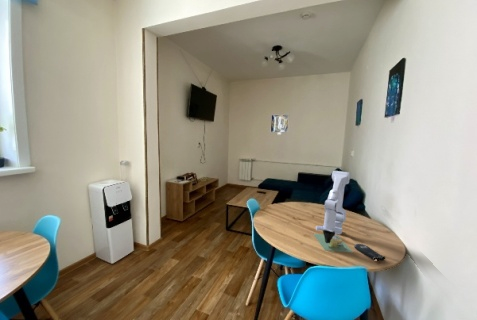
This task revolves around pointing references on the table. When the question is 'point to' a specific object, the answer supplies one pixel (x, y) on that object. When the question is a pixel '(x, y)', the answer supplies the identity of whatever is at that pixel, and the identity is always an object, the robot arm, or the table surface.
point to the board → (328, 248)
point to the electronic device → (368, 252)
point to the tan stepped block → (335, 242)
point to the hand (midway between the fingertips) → (327, 242)
